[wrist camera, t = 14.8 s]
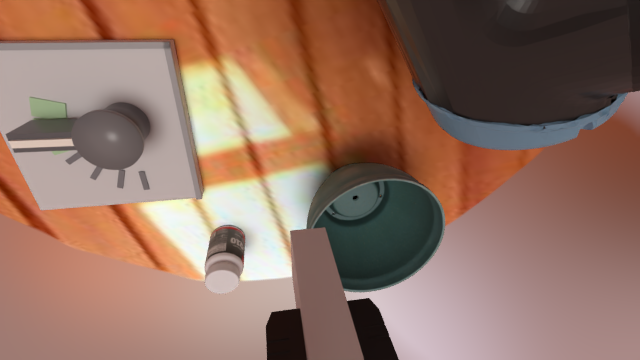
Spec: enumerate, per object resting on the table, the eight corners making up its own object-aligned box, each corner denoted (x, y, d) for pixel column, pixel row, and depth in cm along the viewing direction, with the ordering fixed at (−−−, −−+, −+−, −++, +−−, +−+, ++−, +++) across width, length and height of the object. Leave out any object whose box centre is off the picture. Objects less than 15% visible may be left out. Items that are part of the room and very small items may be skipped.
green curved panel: (24, 96, 31) (22, 97, 31) (121, 93, 33) (120, 94, 32) (68, 194, 37) (67, 195, 37) (149, 188, 38) (149, 189, 38)
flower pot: (321, 122, 39) (342, 161, 30) (427, 157, 45) (472, 199, 35) (280, 224, 46) (286, 282, 37) (377, 244, 51) (404, 299, 42)
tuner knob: (149, 95, 33) (133, 110, 29) (161, 147, 36) (148, 168, 32) (26, 98, 31) (-11, 114, 27) (49, 152, 34) (19, 175, 30)
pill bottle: (250, 242, 47) (249, 287, 40) (221, 254, 47) (214, 301, 40) (235, 219, 44) (231, 262, 37) (204, 232, 44) (194, 277, 37)
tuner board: (-33, 41, 30) (-49, 43, 28) (173, 39, 32) (169, 41, 31) (48, 203, 38) (38, 212, 37) (203, 191, 41) (201, 199, 40)
